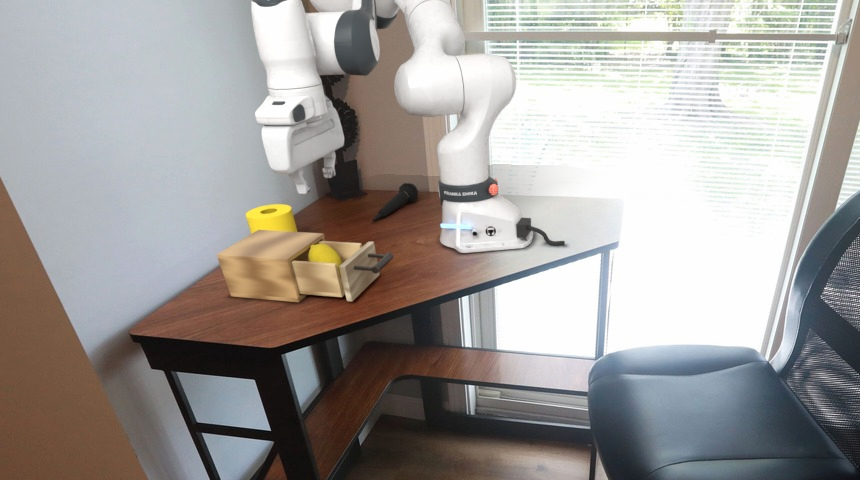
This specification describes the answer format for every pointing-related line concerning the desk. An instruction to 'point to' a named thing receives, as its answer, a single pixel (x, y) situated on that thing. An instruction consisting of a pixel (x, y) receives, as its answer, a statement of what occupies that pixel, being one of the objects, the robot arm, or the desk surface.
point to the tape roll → (271, 218)
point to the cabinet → (265, 264)
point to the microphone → (399, 200)
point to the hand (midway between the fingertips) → (317, 184)
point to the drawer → (354, 270)
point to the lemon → (324, 255)
